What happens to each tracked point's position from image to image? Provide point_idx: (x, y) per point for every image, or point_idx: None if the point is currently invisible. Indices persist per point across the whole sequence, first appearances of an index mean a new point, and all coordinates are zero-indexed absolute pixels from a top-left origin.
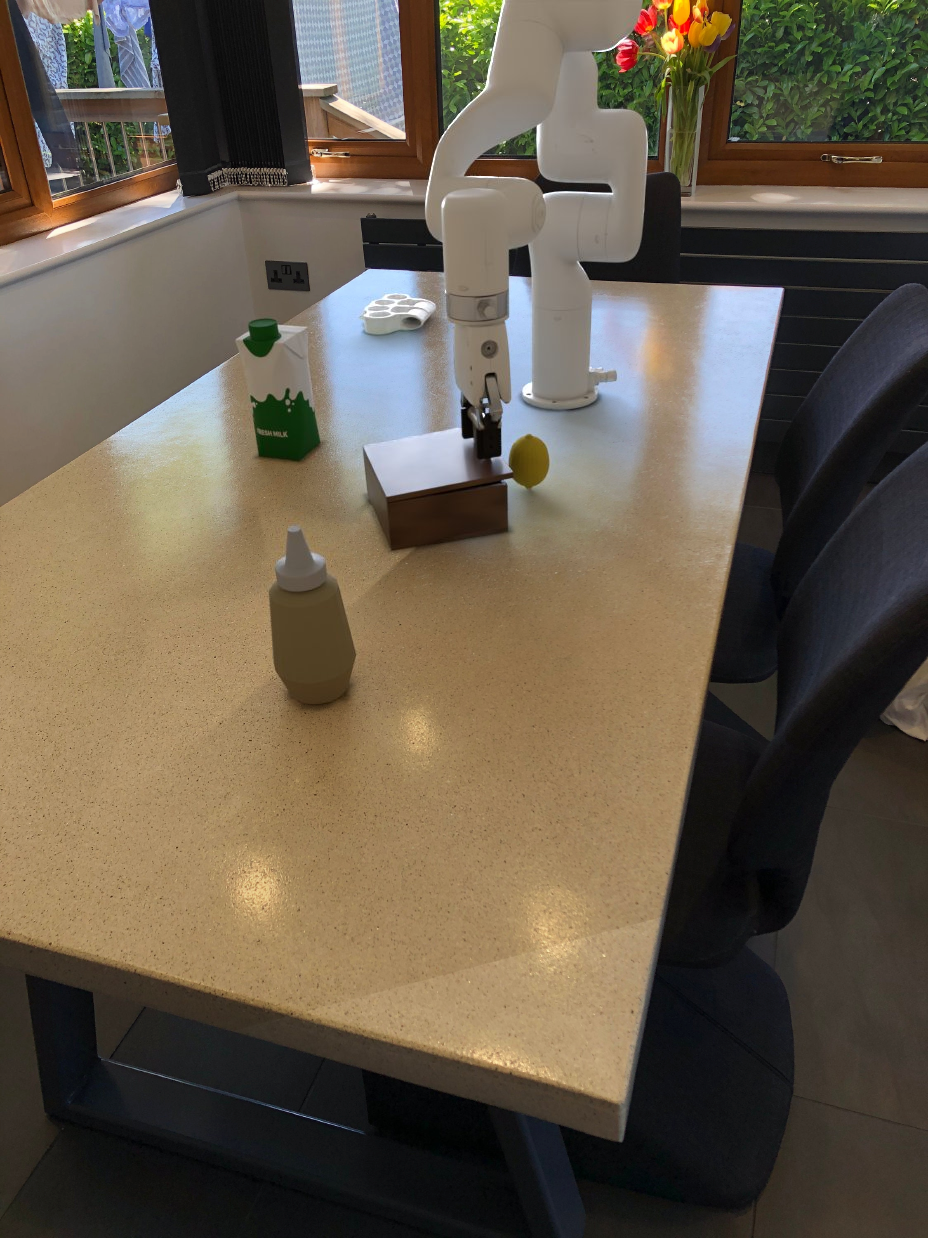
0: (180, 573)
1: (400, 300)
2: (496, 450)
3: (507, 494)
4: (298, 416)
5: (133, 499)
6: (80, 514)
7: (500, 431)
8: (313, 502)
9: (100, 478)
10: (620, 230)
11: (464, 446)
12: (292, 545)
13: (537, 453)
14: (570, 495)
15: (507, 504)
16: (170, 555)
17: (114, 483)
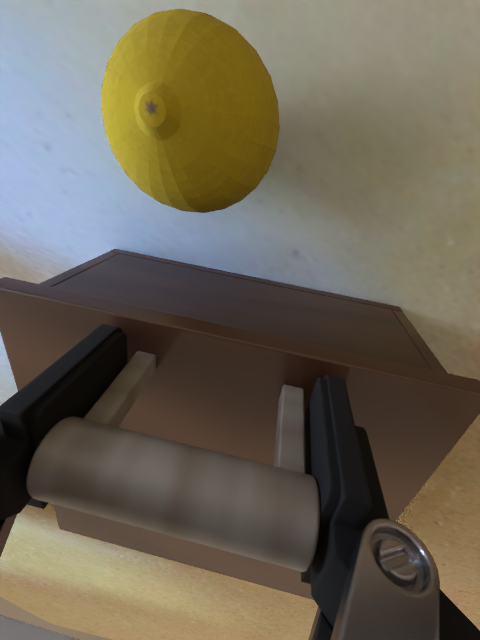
0: (233, 609)
1: None
2: (366, 432)
3: (439, 362)
4: None
5: (56, 580)
6: (77, 607)
7: (363, 475)
8: None
9: (2, 579)
10: None
11: (167, 405)
12: None
13: (259, 116)
14: (334, 14)
15: (425, 344)
16: (191, 602)
17: (16, 577)
